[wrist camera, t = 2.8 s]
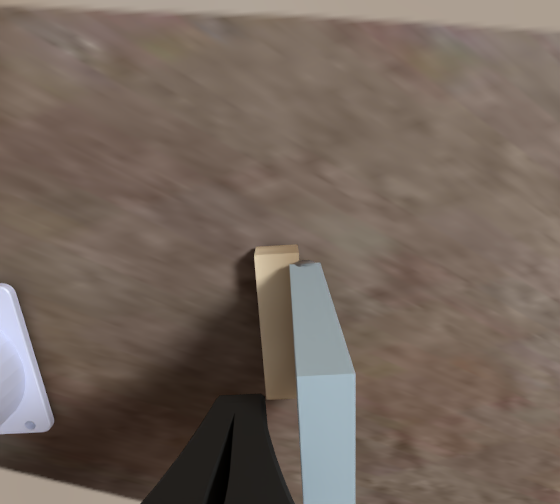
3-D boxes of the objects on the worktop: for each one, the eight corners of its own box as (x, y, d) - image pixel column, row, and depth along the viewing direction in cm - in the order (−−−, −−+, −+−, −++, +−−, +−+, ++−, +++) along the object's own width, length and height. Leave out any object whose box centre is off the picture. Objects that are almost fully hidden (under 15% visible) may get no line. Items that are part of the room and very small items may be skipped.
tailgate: (296, 394, 16) (308, 587, 9) (288, 261, 14) (296, 376, 7) (323, 392, 16) (354, 585, 9) (319, 259, 14) (355, 373, 7)
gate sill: (267, 383, 18) (266, 399, 17) (256, 246, 16) (253, 255, 15) (304, 381, 18) (305, 398, 17) (297, 244, 16) (298, 252, 14)
